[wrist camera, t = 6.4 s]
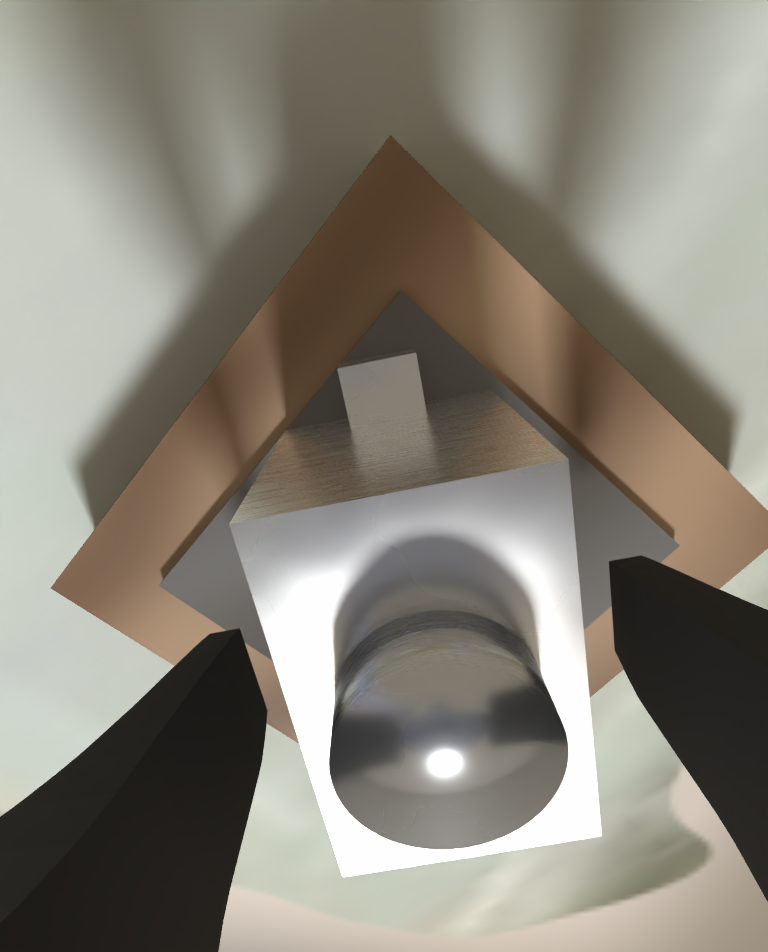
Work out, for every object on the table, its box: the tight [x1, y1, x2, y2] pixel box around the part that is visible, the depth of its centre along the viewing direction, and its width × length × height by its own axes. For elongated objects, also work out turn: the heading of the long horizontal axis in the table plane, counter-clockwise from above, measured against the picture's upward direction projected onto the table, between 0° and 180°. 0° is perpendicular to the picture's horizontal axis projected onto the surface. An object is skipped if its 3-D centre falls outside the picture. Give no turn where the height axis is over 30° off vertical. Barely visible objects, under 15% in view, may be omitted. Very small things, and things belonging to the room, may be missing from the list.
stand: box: [51, 135, 768, 744], centre depth 15 cm, size 13×13×3 cm
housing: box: [229, 348, 602, 877], centre depth 10 cm, size 5×9×6 cm, turn 11°
